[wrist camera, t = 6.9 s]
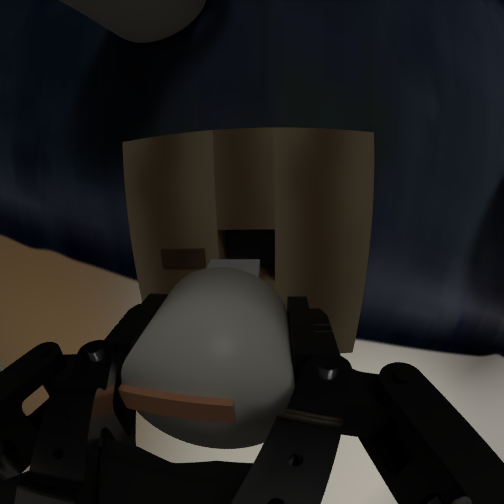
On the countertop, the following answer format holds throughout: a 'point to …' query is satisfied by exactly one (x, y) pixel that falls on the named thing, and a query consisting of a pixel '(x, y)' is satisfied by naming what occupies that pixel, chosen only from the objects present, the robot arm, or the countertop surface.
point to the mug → (140, 16)
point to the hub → (257, 210)
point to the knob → (214, 359)
